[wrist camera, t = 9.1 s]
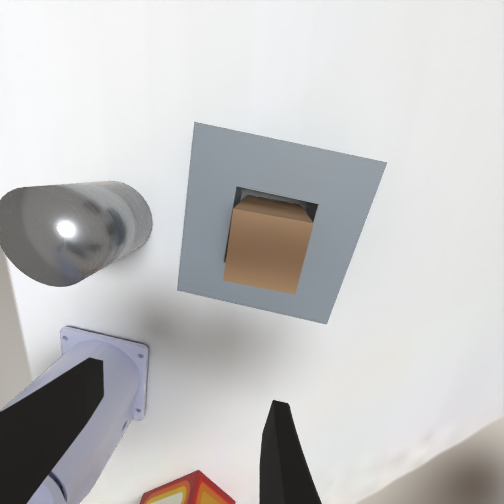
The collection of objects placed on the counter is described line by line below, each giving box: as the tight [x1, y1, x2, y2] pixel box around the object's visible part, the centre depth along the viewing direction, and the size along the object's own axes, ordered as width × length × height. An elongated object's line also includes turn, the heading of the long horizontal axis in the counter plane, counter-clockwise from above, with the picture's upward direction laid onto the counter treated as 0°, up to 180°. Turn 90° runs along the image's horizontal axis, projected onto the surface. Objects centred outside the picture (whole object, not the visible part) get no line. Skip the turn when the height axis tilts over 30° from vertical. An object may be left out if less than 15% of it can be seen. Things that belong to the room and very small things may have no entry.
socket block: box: [177, 122, 387, 324], centre depth 15 cm, size 10×10×3 cm
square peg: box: [223, 195, 314, 295], centre depth 14 cm, size 4×4×6 cm
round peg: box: [0, 181, 152, 287], centre depth 15 cm, size 5×5×6 cm
